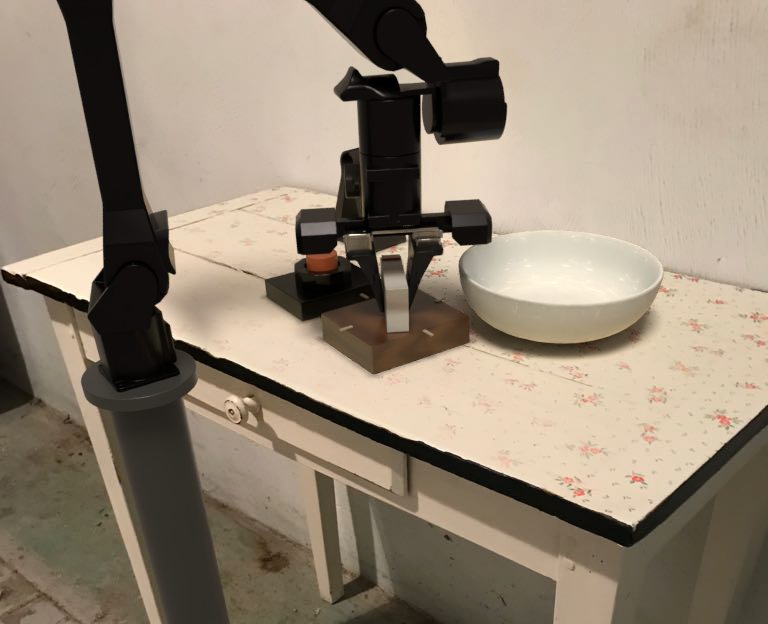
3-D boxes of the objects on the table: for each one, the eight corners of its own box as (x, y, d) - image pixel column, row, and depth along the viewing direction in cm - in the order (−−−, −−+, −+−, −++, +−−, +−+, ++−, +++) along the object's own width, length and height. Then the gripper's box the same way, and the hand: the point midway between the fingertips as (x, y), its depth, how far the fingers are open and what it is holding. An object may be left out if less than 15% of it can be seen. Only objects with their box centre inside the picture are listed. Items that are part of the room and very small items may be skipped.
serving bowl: (500, 382, 79) (504, 314, 75) (432, 301, 95) (432, 242, 91) (692, 350, 83) (706, 284, 79) (596, 278, 99) (603, 220, 95)
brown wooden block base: (377, 382, 80) (375, 352, 78) (311, 336, 89) (308, 308, 87) (483, 346, 85) (484, 317, 83) (411, 306, 94) (410, 279, 92)
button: (316, 276, 93) (315, 260, 92) (301, 267, 96) (300, 252, 94) (343, 268, 95) (342, 253, 94) (328, 260, 97) (327, 245, 96)
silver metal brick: (409, 331, 82) (408, 285, 79) (387, 332, 82) (385, 287, 79) (401, 296, 89) (400, 253, 86) (381, 297, 89) (379, 254, 86)
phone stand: (406, 241, 112) (405, 147, 105) (374, 253, 109) (370, 157, 102) (363, 227, 117) (358, 137, 110) (330, 238, 114) (324, 146, 107)
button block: (302, 321, 92) (299, 287, 89) (266, 297, 98) (262, 264, 96) (384, 298, 96) (383, 264, 94) (345, 275, 103) (343, 244, 100)
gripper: (476, 125, 82) (472, 276, 92) (290, 135, 82) (305, 286, 91) (496, 152, 73) (489, 316, 83) (288, 163, 73) (304, 328, 82)
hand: (394, 310), depth 85 cm, fingers closed on silver metal brick, 2 cm apart
